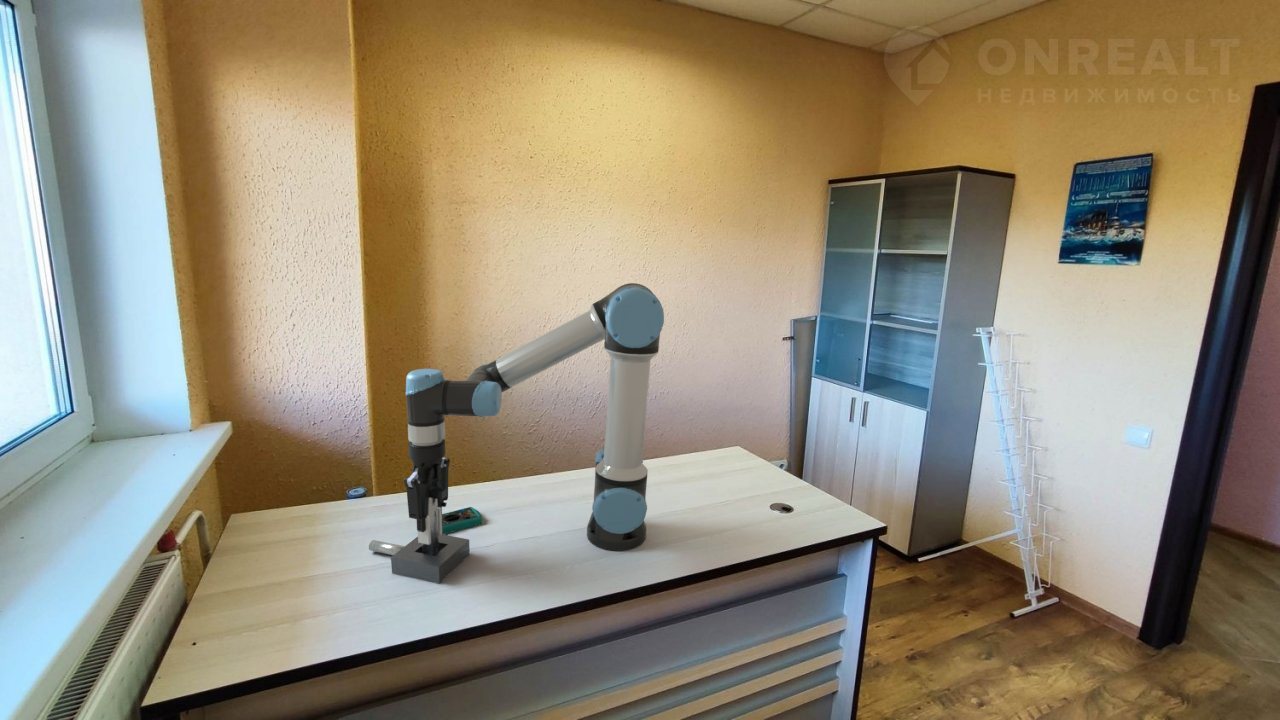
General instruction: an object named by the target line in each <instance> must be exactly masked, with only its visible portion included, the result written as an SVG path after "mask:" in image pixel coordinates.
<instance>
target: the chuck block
mask: <svg viewBox="0 0 1280 720" xmlns="http://www.w3.org/2000/svg"><path fill="white" fill-rule="evenodd" d="M368 550H369V551H372V552H376V553H379V554H385V555H390V561H391V564H390V565H391V574H393V575H398V576H403V577H408V578H411V579H416V580H420V581H425V582H430V583H435V584H441V583H442V582H443V581H444V580H445V579H446V578H447V577H448V576H449V575H451V573H452V572H453V571H455V569H457V568H458V567H459V565H461V564H462V563H463V562H464V561H465V560H466V559H467V558H468V557H469V556H470V554H471V552H470V539H468V538H464V537H458V536H453V535H449V534H448V535H447V534H441V535H439V553H437V554H436V555H434V556H432V555H427V554H422V543H418V536H416V537H415V538H413V540H411V541H410V542H409V543H407V544H406V545H399V544H395V543H392V542H391V543H390V542H385V541H381V540H375V539H372V540H371V541H370V542H369V545H368Z"/></svg>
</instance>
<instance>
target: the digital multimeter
mask: <svg viewBox="0 0 1280 720" xmlns="http://www.w3.org/2000/svg"><path fill="white" fill-rule="evenodd" d="M482 524H483V517H482V515H481V512H480V511H479V510H477V509H476V508H474V507H473V506H469V507H465V508H461V509H457V510H454V511H449V512H445V513H442V534H443V535H447V534H450V533H454V532H457V531H461V530H464V529H465V530H466V529H469V528H474V527H478V526H481V525H482Z"/></svg>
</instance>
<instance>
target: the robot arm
mask: <svg viewBox="0 0 1280 720" xmlns="http://www.w3.org/2000/svg"><path fill="white" fill-rule="evenodd" d="M664 323H665V311H664V309H663V304H662V303H661V301H660V300H659V298H658V297H657V295H656V294H654V293H653V291H652V290H651V289H650V288H648V287H647V286H645V285H643V284H640V283H637V282H634V283H633V282H629V283H625V284H622V285H620V286H618V287H617V288H616V289H614V290H613V291H612V292H610V293H609V294H607V295H606V296H604V297H602V298H601V299H599V300H597V301H596V302H594V303H592V304H591V306H590V308H589V310H588V311H586V312H584V313H582V314H579V316H576V317H575V318H573V319H571V320H569V321H567V322H564V323H563V324H561V325H559V326H557V327H556V328H554V329H552V330H549V331H548V332H546V333H544V334H542V335H540V336H538V337H537V338H535V339H532V340H531V341H529V342H527V343H525V344H523V345H521V346H519V347H518V348H515V349H514V350H511V351H510V352H508V353H506V354H504V355H502V356H500V357H498V358H496V359H495V360H492V361H491V362H489V363H485V364H482V365H480V366H478V367H477V368H475V369H474V370H473V372H471V374H470V375H469V376H468V377H467V378H466V379H465V380H451V379H450V380H449V379H445V377H444V373H443V372H442V370H440V369H434V368H419V369H415V370H414V369H413V370H412V371H409V372H408V374H407V375H406V379H405V380H406V381H405V382H406V383H405V399H406V403H405V404H406V416H407V417H406V418H407V421H406V422H407V433H408V434H407V438H408V441H409V442H408V458H409V460H411V462H412V463H413V465H412V469H411V470H412V472H411V473H412V474H411V475H409V477H404V478H403V482H404V486H405V488H406V497H407V498H406V499H407V508H408V509H407V511H408V518H409V519H413V520H414V519H415V520H416V530H417V537H418V543H423V544H428V545H429V544H430V543H431V531H430V516H427V513H428V500H429V488H430V487H431V486H434V487H439V488H445V489H447V497H445V498H444V499H442V500H441V499H437V502H438V532H439V535H441V534H442V514H443V508H446V507H447V505H448V504H447V502H445V501H448V499H449V467H450V462H451V459H450V458H447V457H445V456H446V440H445V438H446V426H445V425H446V423H445V416H456V417H457V416H458V417H459V416H460V417H461V416H465V417H479V418H485V417H495V416H497V415H498V414H499V413H500V410H501V407H502V399H503V398H502V397H503V396H502V393H504V392H506V391H508V390H509V389H511V388H513V387H515V386H516V385H519V384H520V383H523V382H524V381H526V380H528V379H531V378H532V377H534V376H536V375H538V374H540V373H541V372H542V373H543V372H544V371H545V370H548V369H549V368H552V367H554V366H555V365H557V364H560V363H561V362H563V361H565V360H567V359H570V358H571V357H573V356H575V355H577V354H579V353H580V352H582V351H584V350H586V349H588V348H590V347H592V346H595V345H596V344H597V343H598V344H599V343H600V342H602V341H604V347H603V348H604V350H605V351H606V353H607V354H608V355H609V356H610V359H609V360H610V362H609V375H608V376H609V377H608V392H607V402H606V405H607V406H606V416H605V417H606V418H605V433H604V445H603V447H604V448H601V449H599V450H598V451H596V453H595V460H594V463H595V464H594V465H595V470H594V492H593V502H592V512H591V515H590V517H589V521H588V523H587V526H586V538H587V540H588V541H589V543H591V544H592V545H593V546H595V547H597V548H599V549H603V550H608V551H626V550H631V549H635V548H637V547H639V546H641V545H642V544H643V543H644V542H645V541H646V538H647V526H646V523H645V518H646V516H647V510H648V505H647V500H646V495H647V483H648V482H647V481H648V473H649V471H648V468H647V467H646V466H645V465H644V461H643V451H644V440H645V439H644V438H645V429H646V427H645V426H646V417H647V405H648V393H649V391H648V390H649V380H650V371H651V370H650V368H651V360H652V359H653V358H654V357H655V356H657V354H659V349H660V348H659V347H660V340H661V339H660V338H661V332H662V330H663V327H664Z"/></svg>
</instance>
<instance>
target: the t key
mask: <svg viewBox="0 0 1280 720" xmlns="http://www.w3.org/2000/svg"><path fill="white" fill-rule="evenodd" d="M445 497H447V489H445V488H439V487H434V486H431V487H430V488H429V500H428V513H427V516H430V531H431V543H430V544H429V545H428V544H423V543H422V554H427V555H432V556H434V555H436V554H437V553H439V532H438V502H437V499H441V500H442V499H444V498H445Z"/></svg>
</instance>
